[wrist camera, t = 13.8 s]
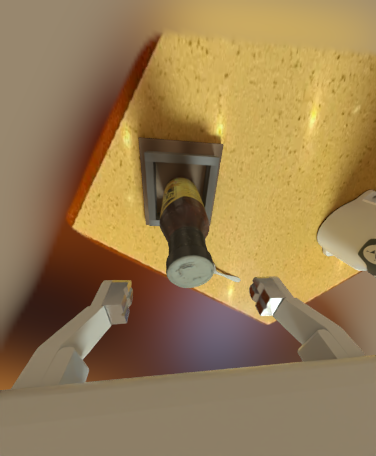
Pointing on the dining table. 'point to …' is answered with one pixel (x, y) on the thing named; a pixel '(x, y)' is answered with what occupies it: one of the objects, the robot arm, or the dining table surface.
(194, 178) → the box
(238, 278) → the spoon
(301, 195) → the dining table surface
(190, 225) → the sauce bottle
